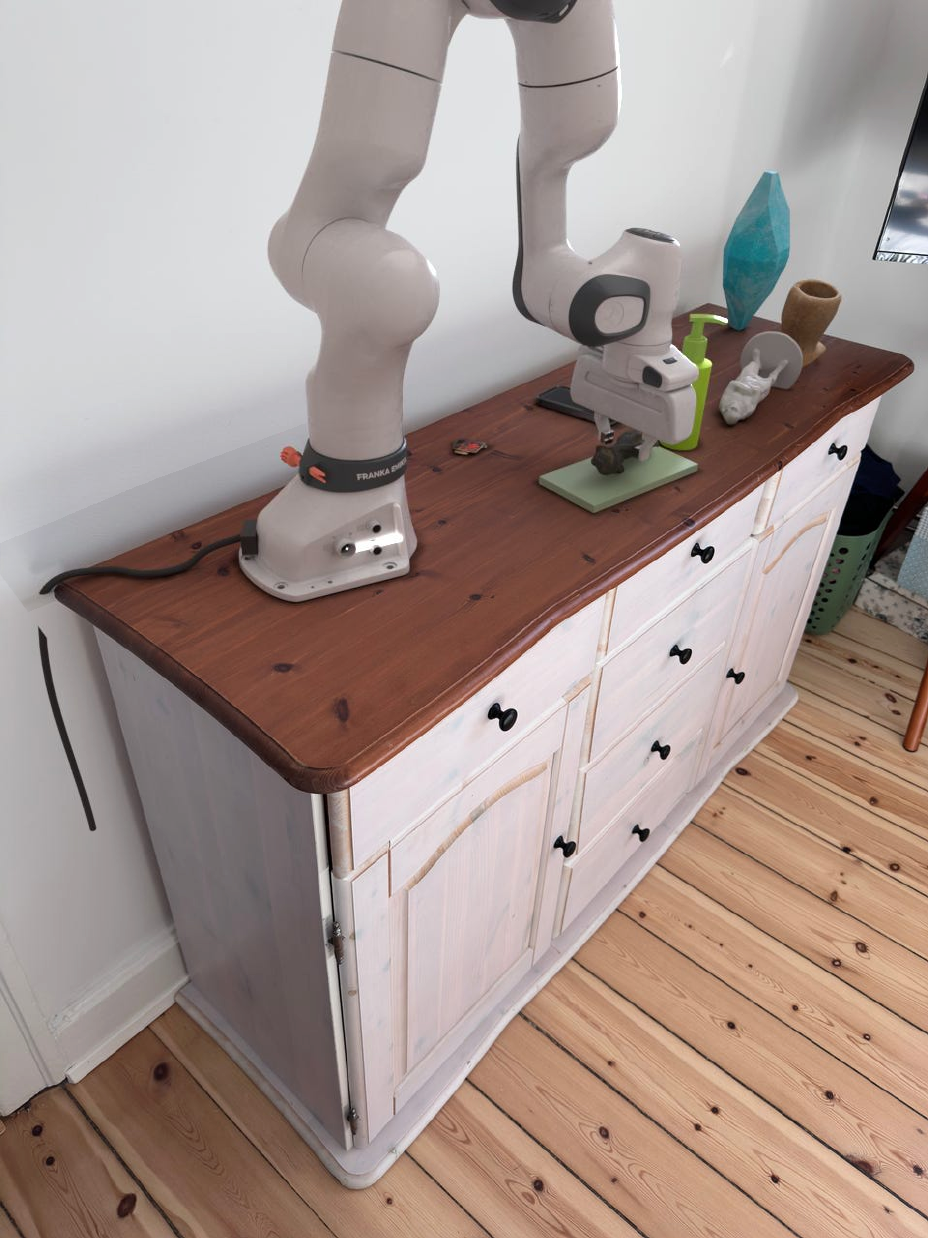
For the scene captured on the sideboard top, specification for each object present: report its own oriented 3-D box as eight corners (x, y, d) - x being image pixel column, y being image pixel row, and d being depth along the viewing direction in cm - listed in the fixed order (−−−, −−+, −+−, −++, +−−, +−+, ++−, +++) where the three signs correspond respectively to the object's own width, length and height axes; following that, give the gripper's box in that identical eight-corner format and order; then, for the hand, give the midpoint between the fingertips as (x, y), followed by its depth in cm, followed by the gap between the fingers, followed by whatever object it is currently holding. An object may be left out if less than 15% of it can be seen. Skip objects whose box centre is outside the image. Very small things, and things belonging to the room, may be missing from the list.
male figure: (811, 335, 161) (764, 385, 144) (799, 387, 167) (752, 442, 150) (749, 322, 165) (697, 370, 149) (739, 374, 171) (688, 425, 155)
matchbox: (455, 440, 144) (455, 437, 144) (488, 443, 143) (488, 441, 143) (449, 453, 140) (450, 450, 140) (483, 456, 140) (483, 453, 139)
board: (593, 513, 126) (594, 505, 125) (538, 483, 133) (539, 476, 132) (696, 471, 138) (698, 463, 137) (641, 445, 145) (642, 438, 144)
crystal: (781, 326, 196) (816, 171, 179) (753, 341, 187) (787, 180, 170) (728, 313, 202) (757, 163, 185) (699, 328, 193) (726, 171, 176)
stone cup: (809, 378, 171) (829, 296, 162) (749, 363, 177) (766, 282, 168) (839, 358, 180) (860, 279, 172) (782, 344, 186) (799, 267, 178)
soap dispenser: (703, 452, 143) (728, 323, 131) (658, 448, 144) (679, 319, 132) (703, 437, 148) (727, 311, 136) (659, 433, 149) (679, 307, 137)
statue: (623, 458, 144) (575, 484, 127) (625, 423, 142) (576, 444, 125) (663, 461, 141) (619, 488, 125) (665, 425, 139) (620, 448, 123)
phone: (558, 384, 162) (634, 406, 154) (558, 390, 162) (633, 412, 155) (533, 397, 156) (610, 420, 149) (533, 403, 157) (609, 426, 150)
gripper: (565, 339, 130) (556, 431, 138) (678, 383, 117) (661, 482, 125) (596, 331, 133) (586, 421, 141) (709, 373, 120) (691, 469, 128)
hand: (622, 450), depth 133 cm, fingers closed on statue, 5 cm apart
